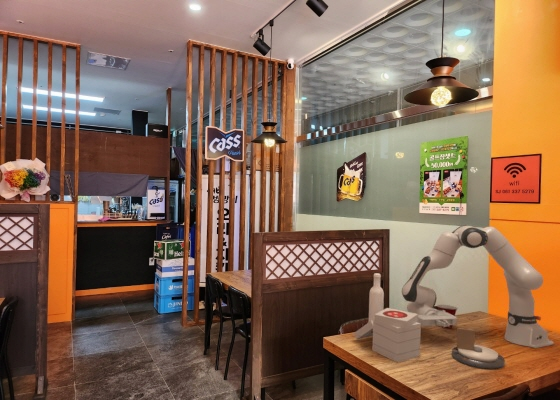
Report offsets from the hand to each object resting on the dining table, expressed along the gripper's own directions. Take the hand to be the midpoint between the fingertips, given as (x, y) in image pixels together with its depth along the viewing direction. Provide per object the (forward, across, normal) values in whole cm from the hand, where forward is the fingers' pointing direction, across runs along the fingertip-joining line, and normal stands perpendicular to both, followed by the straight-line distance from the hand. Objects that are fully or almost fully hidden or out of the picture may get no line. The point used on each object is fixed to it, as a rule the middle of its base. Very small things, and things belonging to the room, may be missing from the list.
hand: (446, 325), depth 184 cm
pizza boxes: (-3, -30, +12) cm, 32 cm away
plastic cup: (-28, +21, +11) cm, 37 cm away
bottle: (-32, -21, +12) cm, 40 cm away
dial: (+14, +5, +9) cm, 17 cm away
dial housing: (+14, +5, +11) cm, 19 cm away
